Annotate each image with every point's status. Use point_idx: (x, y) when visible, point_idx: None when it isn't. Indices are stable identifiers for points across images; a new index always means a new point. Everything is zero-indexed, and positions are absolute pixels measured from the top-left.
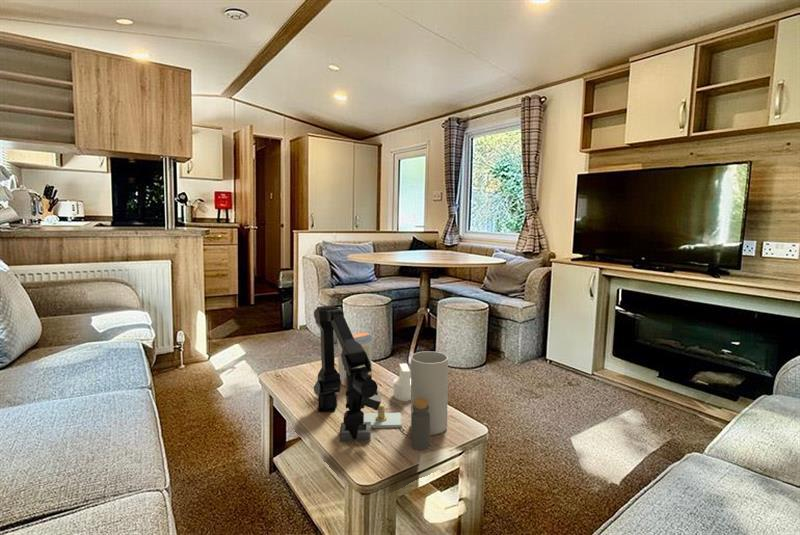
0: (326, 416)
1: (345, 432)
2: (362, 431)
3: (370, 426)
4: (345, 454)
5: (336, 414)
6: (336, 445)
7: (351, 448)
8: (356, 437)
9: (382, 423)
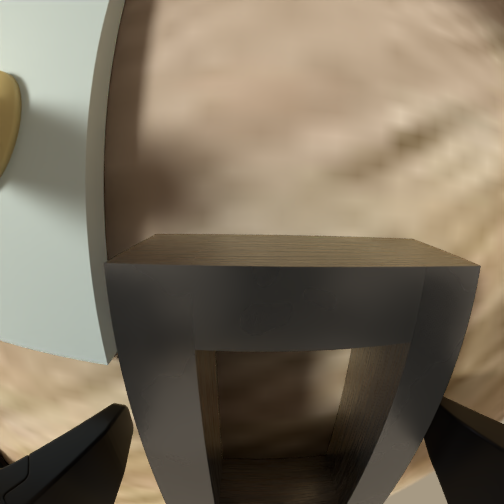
0: None
1: (378, 500)
2: (430, 380)
3: (296, 270)
4: (495, 396)
5: (9, 447)
6: None
7: (461, 384)
8: (453, 401)
9: (57, 92)
